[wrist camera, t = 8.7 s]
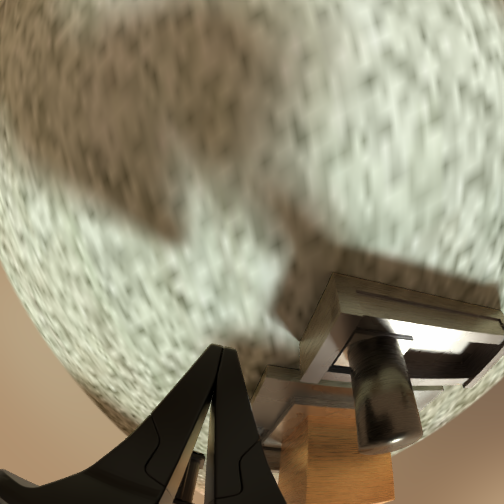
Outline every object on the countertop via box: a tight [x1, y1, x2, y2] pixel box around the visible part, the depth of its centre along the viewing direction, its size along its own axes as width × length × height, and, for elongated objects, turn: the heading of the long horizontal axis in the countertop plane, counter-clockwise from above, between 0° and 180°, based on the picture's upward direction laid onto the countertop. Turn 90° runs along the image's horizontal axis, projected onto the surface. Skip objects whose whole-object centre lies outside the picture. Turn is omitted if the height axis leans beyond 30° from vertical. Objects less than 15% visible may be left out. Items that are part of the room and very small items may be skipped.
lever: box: [333, 327, 423, 455], centre depth 9 cm, size 2×3×5 cm
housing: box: [278, 415, 395, 504], centre depth 13 cm, size 6×6×6 cm
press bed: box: [250, 365, 444, 473], centre depth 16 cm, size 11×12×3 cm
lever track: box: [299, 272, 504, 388], centre depth 11 cm, size 4×11×2 cm, turn 78°
